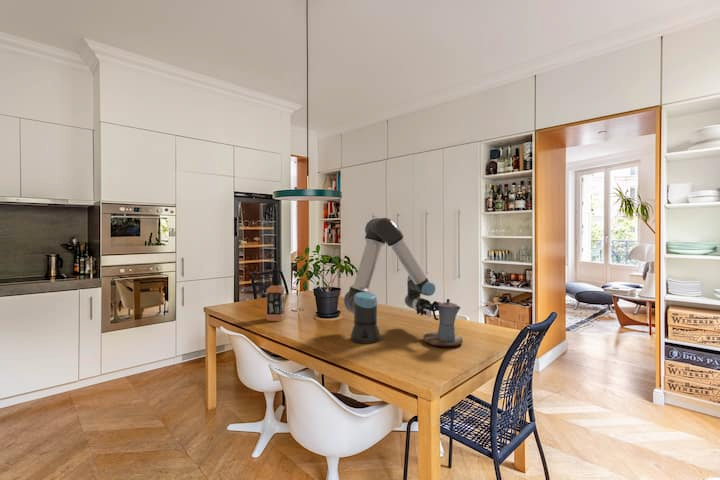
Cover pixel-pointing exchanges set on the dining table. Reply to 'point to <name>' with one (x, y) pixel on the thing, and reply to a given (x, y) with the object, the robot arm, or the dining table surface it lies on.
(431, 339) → the disc
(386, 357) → the dining table surface
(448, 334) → the moka pot
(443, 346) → the turntable base
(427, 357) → the dining table surface
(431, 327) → the dining table surface
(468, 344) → the dining table surface
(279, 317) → the whiskey bottle
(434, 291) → the robot arm
